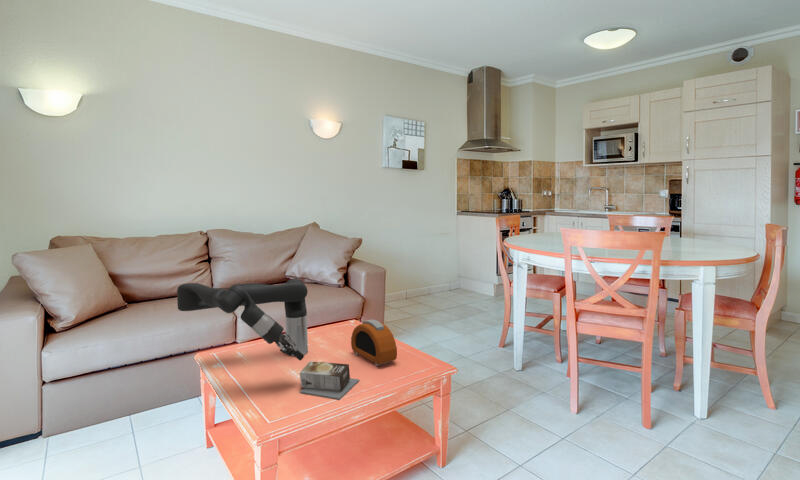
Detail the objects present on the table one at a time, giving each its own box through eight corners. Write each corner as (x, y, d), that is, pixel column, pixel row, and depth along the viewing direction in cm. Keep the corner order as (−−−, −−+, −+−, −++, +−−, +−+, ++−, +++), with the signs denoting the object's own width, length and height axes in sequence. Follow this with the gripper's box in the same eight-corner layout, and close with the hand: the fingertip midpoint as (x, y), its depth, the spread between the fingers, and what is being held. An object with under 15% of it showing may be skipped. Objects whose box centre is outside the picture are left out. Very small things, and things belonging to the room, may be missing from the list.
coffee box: (309, 360, 167) (349, 363, 163) (310, 375, 168) (350, 378, 165) (299, 372, 158) (341, 375, 154) (300, 388, 159) (342, 392, 156)
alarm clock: (350, 352, 195) (349, 316, 193) (367, 348, 201) (366, 313, 199) (380, 369, 177) (379, 329, 175) (397, 364, 182) (397, 325, 180)
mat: (299, 393, 156) (299, 391, 156) (322, 375, 171) (322, 373, 171) (339, 399, 151) (339, 398, 151) (359, 381, 166) (359, 379, 166)
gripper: (262, 330, 166) (296, 358, 170) (257, 341, 153) (294, 372, 157) (276, 315, 166) (309, 344, 170) (272, 326, 154) (308, 357, 157)
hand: (302, 358), depth 163 cm, fingers closed
